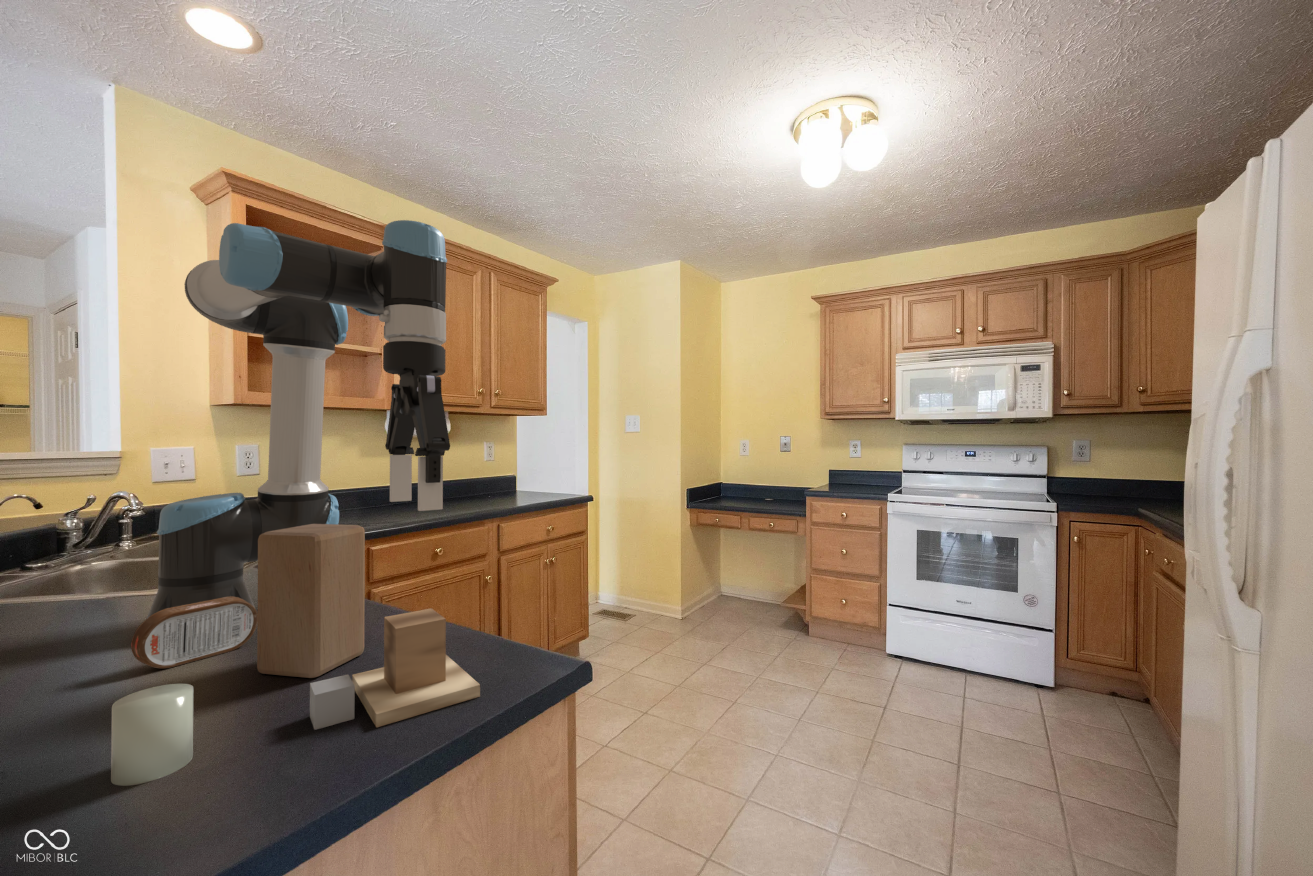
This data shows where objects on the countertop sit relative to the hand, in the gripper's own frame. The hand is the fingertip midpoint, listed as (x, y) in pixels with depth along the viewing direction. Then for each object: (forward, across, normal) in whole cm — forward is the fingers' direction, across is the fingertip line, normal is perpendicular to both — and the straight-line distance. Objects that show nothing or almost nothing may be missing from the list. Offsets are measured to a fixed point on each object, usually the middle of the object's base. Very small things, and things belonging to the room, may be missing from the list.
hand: (414, 505), depth 71 cm
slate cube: (+24, +1, -10) cm, 26 cm away
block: (+24, -19, -9) cm, 32 cm away
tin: (+25, -33, -22) cm, 46 cm away
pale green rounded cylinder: (+24, +1, -25) cm, 35 cm away
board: (+24, 0, 0) cm, 24 cm away
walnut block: (+23, 0, 0) cm, 23 cm away
